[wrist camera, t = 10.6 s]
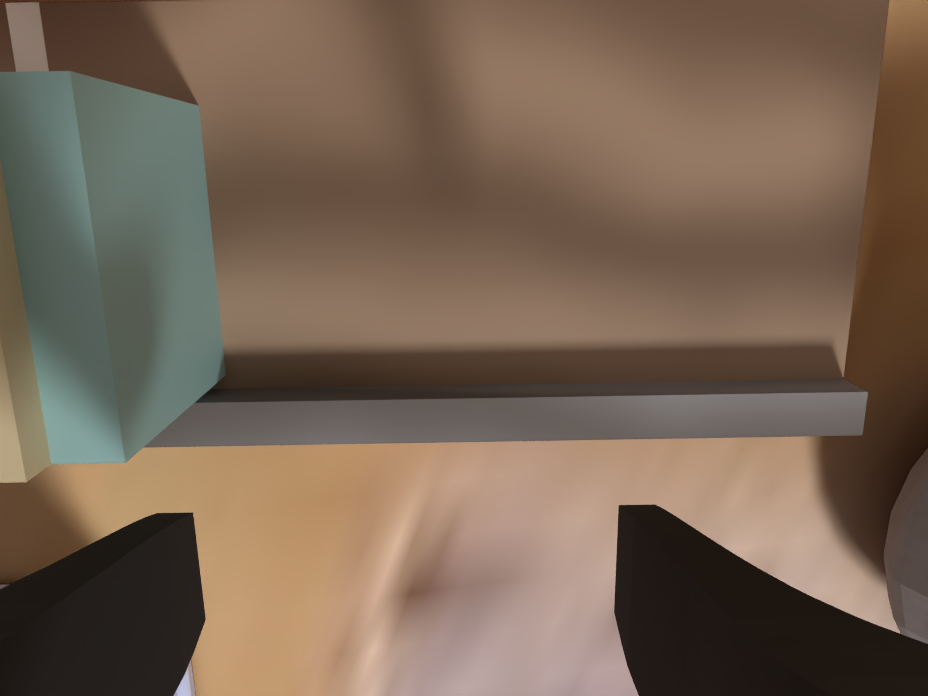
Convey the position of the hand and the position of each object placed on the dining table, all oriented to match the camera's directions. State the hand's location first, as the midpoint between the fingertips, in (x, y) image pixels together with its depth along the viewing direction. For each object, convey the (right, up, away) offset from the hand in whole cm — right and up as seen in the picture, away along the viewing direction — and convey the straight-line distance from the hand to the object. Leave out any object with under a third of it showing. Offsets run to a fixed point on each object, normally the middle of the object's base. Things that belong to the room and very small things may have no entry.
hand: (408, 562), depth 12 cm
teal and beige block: (-8, +6, +7) cm, 12 cm away
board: (0, +7, +8) cm, 11 cm away
